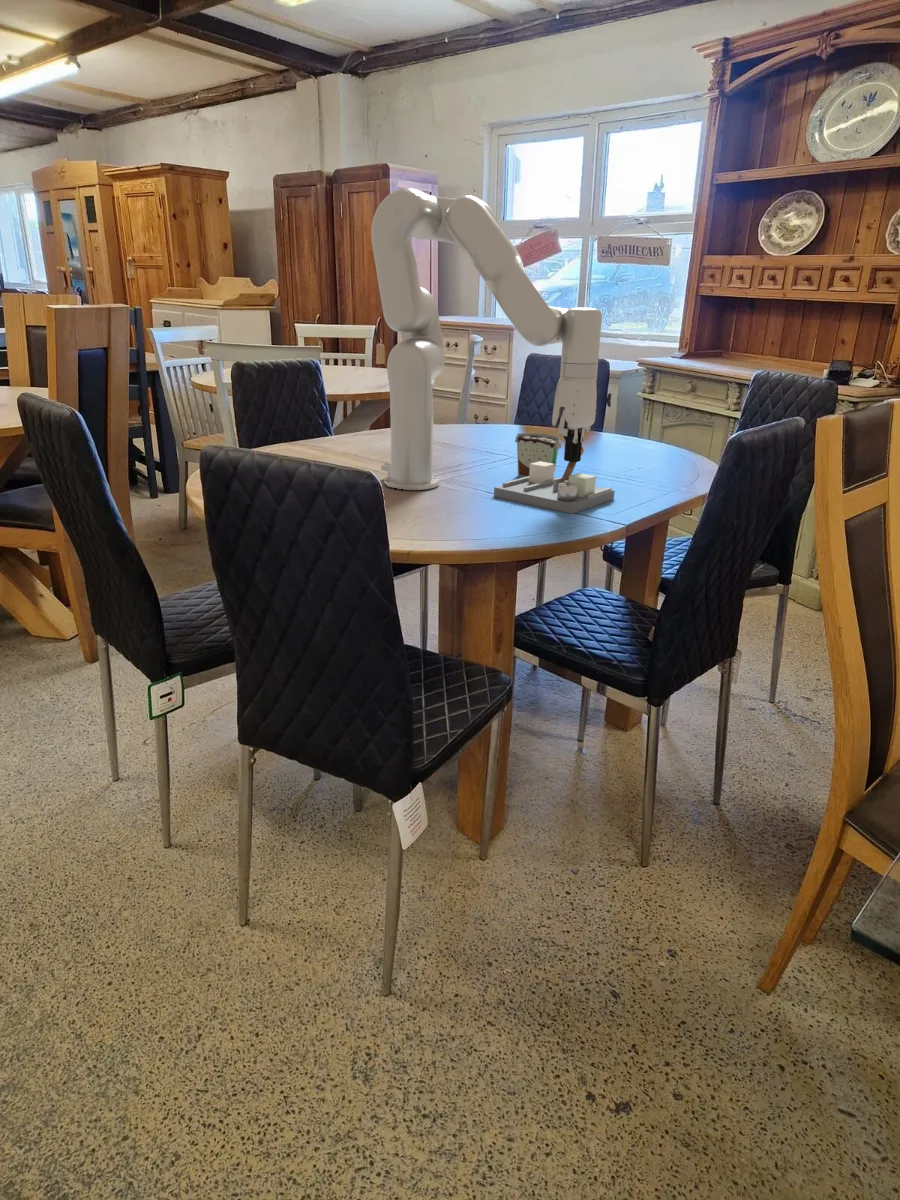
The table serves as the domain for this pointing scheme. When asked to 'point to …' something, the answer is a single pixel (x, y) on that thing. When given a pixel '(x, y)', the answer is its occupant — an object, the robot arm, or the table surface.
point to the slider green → (583, 483)
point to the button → (567, 492)
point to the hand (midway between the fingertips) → (572, 460)
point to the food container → (535, 450)
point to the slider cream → (541, 472)
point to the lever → (569, 469)
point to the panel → (550, 495)
